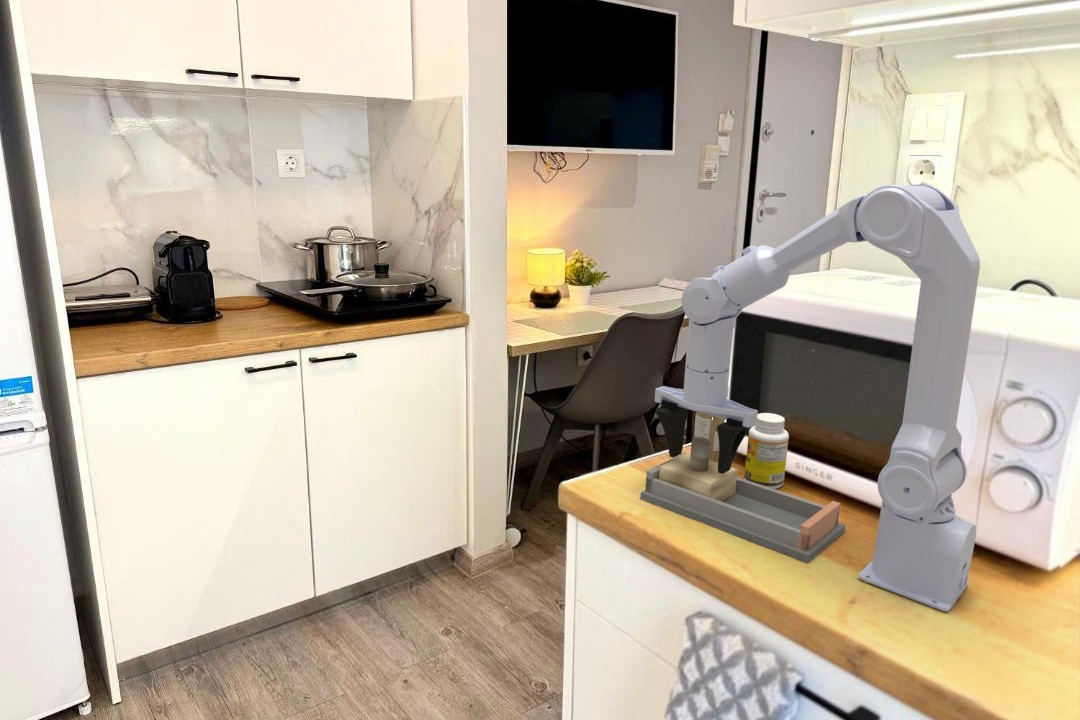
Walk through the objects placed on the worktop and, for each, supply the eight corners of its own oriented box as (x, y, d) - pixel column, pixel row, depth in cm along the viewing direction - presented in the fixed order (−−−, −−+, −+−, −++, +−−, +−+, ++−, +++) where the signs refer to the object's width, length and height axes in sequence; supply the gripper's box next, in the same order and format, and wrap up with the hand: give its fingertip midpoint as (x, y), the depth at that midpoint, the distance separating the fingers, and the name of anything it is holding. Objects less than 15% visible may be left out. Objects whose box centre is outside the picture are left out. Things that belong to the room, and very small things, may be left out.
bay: (844, 531, 97) (848, 503, 96) (807, 563, 89) (811, 532, 88) (683, 476, 112) (685, 451, 111) (640, 498, 104) (642, 472, 103)
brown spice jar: (725, 472, 114) (733, 387, 110) (696, 473, 113) (703, 388, 110) (714, 461, 118) (722, 378, 115) (686, 461, 118) (693, 379, 114)
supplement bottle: (747, 472, 114) (754, 408, 112) (785, 479, 112) (793, 414, 109) (740, 486, 109) (747, 419, 107) (780, 494, 107) (788, 426, 104)
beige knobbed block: (735, 493, 104) (740, 441, 102) (708, 509, 99) (713, 455, 97) (685, 476, 110) (689, 426, 108) (658, 490, 105) (661, 439, 103)
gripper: (772, 373, 98) (761, 470, 101) (677, 351, 107) (670, 441, 111) (746, 383, 93) (735, 485, 96) (648, 360, 102) (642, 454, 106)
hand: (699, 463), depth 103 cm, fingers open, 7 cm apart
